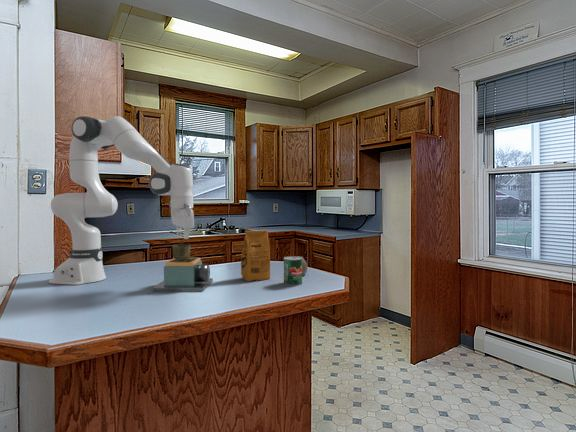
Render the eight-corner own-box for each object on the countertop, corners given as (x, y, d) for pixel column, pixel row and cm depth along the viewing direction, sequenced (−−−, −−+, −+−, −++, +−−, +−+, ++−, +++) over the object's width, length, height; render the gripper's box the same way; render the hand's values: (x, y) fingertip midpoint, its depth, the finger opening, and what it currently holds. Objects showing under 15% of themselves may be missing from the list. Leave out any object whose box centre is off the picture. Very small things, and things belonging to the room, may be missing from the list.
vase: (309, 274, 169) (309, 255, 169) (305, 277, 163) (305, 258, 162) (295, 273, 172) (295, 255, 171) (290, 276, 165) (290, 257, 165)
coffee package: (239, 277, 163) (238, 229, 162) (265, 275, 168) (264, 228, 167) (245, 282, 154) (244, 231, 153) (272, 279, 159) (271, 230, 157)
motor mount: (152, 291, 140) (151, 263, 140) (167, 281, 156) (166, 256, 156) (202, 291, 140) (202, 263, 139) (212, 281, 156) (212, 256, 155)
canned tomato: (296, 286, 146) (296, 260, 145) (280, 284, 150) (279, 258, 150) (305, 282, 153) (305, 257, 152) (290, 280, 157) (289, 255, 156)
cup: (194, 262, 150) (194, 243, 149) (184, 266, 143) (184, 246, 142) (179, 261, 152) (178, 242, 151) (168, 264, 145) (168, 245, 144)
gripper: (197, 204, 139) (198, 240, 140) (182, 202, 156) (183, 233, 157) (181, 205, 135) (182, 241, 137) (168, 202, 153) (168, 234, 154)
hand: (182, 237), depth 147 cm, fingers open, 8 cm apart
